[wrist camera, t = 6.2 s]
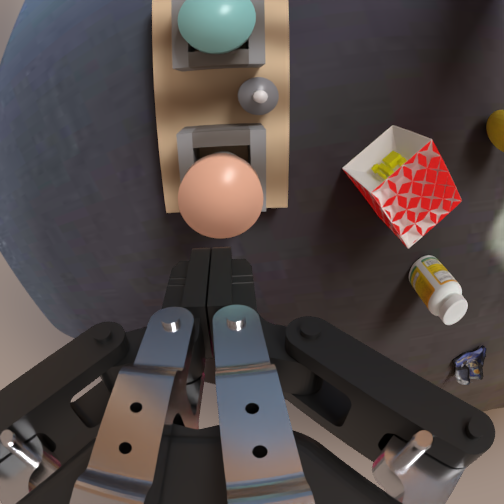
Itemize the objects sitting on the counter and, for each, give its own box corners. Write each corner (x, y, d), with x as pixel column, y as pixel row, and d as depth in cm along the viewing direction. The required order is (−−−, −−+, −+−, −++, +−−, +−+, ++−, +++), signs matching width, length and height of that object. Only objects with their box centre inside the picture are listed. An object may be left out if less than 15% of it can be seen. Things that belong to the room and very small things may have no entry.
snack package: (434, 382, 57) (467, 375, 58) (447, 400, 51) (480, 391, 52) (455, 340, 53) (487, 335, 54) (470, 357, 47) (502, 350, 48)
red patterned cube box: (392, 124, 29) (432, 139, 23) (423, 176, 33) (462, 200, 26) (341, 168, 32) (369, 193, 25) (377, 216, 35) (407, 249, 28)
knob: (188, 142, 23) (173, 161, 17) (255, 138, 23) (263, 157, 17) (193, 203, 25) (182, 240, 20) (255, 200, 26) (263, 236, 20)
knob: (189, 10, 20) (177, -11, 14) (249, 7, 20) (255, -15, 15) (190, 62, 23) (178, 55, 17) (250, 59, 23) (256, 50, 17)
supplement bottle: (429, 247, 38) (466, 287, 29) (442, 268, 40) (476, 308, 32) (401, 272, 40) (433, 317, 31) (416, 291, 42) (446, 334, 33)
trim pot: (237, 78, 24) (238, 76, 20) (273, 78, 24) (282, 76, 20) (238, 112, 26) (239, 118, 21) (273, 112, 26) (282, 117, 21)
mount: (159, 1, 21) (138, -21, 15) (282, -5, 22) (297, -30, 15) (171, 202, 33) (156, 234, 26) (282, 196, 33) (296, 227, 27)
